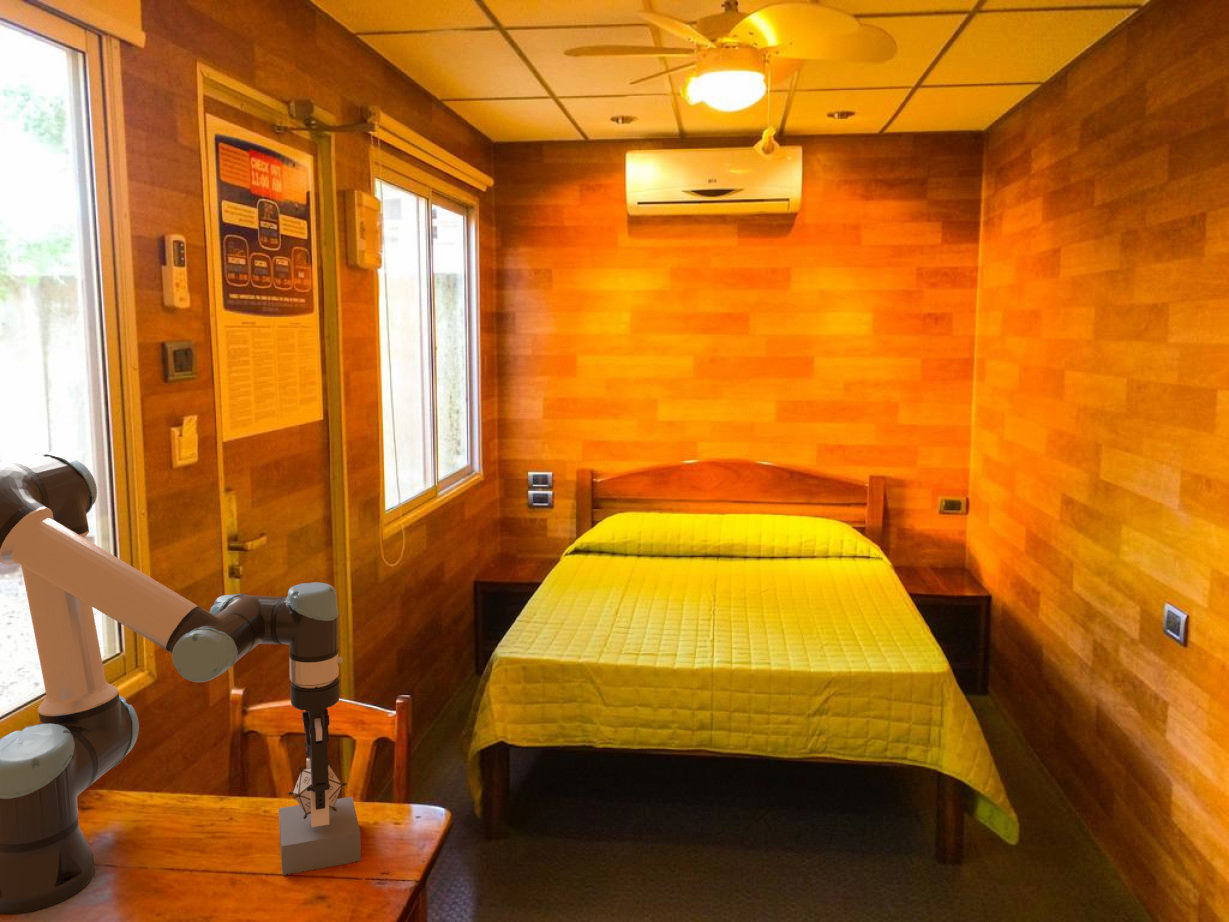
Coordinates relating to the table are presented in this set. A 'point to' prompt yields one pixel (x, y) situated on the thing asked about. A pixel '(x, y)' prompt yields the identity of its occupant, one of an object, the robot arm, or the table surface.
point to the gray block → (319, 838)
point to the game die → (305, 781)
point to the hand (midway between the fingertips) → (318, 808)
